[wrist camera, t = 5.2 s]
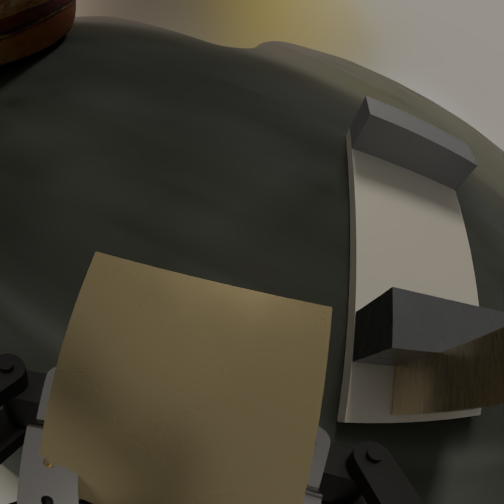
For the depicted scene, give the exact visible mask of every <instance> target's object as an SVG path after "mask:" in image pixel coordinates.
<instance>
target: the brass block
mask: <svg viewBox="0 0 504 504" xmlns="http://www.w3.org/2000/svg"><path fill="white" fill-rule="evenodd" d="M331 317H332V307H328V306H323V305H318V304H313V303H308V302H304V301H299V300H294V299H289V298H285V297H280V296H275V295H271V294H266V293H261V292H257V291H252V290H248V289H244V288H239V287H235V286H230V285H226V284H222V283H218V282H213V281H209V280H205V279H201V278H197V277H192V276H188V275H184V274H180V273H176V272H172V271H168V270H164V269H160V268H156V267H152V266H149V265H145V264H141V263H137V262H133V261H129V260H126V259H122V258H118V257H115V256H111V255H107V254H104V253H100V252H95V255H94V257H93V260H92V262H91V264H90V267H89V269H88V272H87V274H86V277H85V280H84V282H83V285H82V287H81V290H80V293H79V296H78V298H77V301H76V304H75V307H74V310H73V313H72V316H71V319H70V322H69V325H68V328H67V331H66V334H65V338H64V341H63V344H62V348H61V351H60V355H59V359H58V362H57V366H56V370H55V374H54V378H53V382H52V386H51V391H50V395H49V400H48V405H47V410H46V415H45V421H44V426H43V432H42V439H41V446H40V454H39V455H40V456H42V457H44V458H45V461H44V465H45V467H47V468H52V467H54V465H55V464H57V465H59V466H61V467H63V468H66V469H68V470H70V471H72V472H74V473H76V474H78V479H79V485H80V491H81V497H82V499H83V500H86V501H88V502H90V503H93V504H303V500H304V496H305V492H306V487H307V482H308V478H309V473H310V468H311V463H312V458H313V453H314V447H315V442H316V436H317V430H318V424H319V418H320V411H321V404H322V397H323V390H324V383H325V375H326V366H327V358H328V349H329V339H330V328H331Z"/></svg>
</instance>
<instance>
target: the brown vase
mask: <svg viewBox="0 0 504 504" xmlns="http://www.w3.org/2000/svg"><path fill="white" fill-rule="evenodd" d="M75 11H76V0H0V66H1V65H4V64H7V63H10V62H13V61H16V60H19V59H21V58H24V57H28V56H31V55H34V54H35V53H37V52H39V51H41V50H43V49H45V48H47V47H49V46H51V45H53V44H54V43H56V42H57V41H58V40H60V39H61V38H62V37H63V36H65V35H66V34H67V33H68V31H69V30H70V29H71V27H72V25H73V23H74V18H75Z"/></svg>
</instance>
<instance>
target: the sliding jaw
mask: <svg viewBox="0 0 504 504" xmlns="http://www.w3.org/2000/svg"><path fill="white" fill-rule="evenodd" d="M353 362H359V363H368V364H377V365H388V366H395V379H394V391H393V402H392V411H391V415H410V414H431V413H445V412H456V411H464V410H472V409H478V408H485V407H490V406H496V405H501V404H504V312H501V311H497V310H492V309H488V308H483V307H479V306H475V305H470V304H466V303H461V302H457V301H453V300H448V299H444V298H439V297H435V296H431V295H426V294H422V293H418V292H413V291H409V290H405V289H400V288H396V287H391V288H390V289H389V290H387V291H386V292H384V293H383V294H381V295H380V296H379V297H377V298H376V299H374V300H373V301H371V302H370V303H368V304H367V305H365V306H364V307H363V308H361V309H360V310H358V311H356V319H355V336H354V350H353Z"/></svg>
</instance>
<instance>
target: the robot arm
mask: <svg viewBox="0 0 504 504" xmlns="http://www.w3.org/2000/svg"><path fill="white" fill-rule="evenodd" d="M55 370H56V367H54V368H52V369H51V370H50V371H49V372H48V373H47V374H43V373H38V372H32V371H27V370H26V367H25V364H24V362H23V360H22V359H21V358H19V357H18V356H16V355H12V354H3V355H0V407H1V406H3V409H2V410H0V464H1V463H3V462H4V461H5V460H6V459H7V458H8V457H9V456H10V455H12V454H13V453H14V452H15V451H16V450H17V449H18V448H20V447H21V446H22V445H23V444H24V445H23V451H22V458H21V465H20V474H19V483H18V495H17V501H16V502H13V503H10V504H93V503H90V502H88V501H86V500H83V499H82V497H81V491H80V485H79V479H78V474H76V473H74V472H72V471H70V470H68V469H66V468H63V467H61V466H59V465H57V464H55V465H54V467H52V468H47V467H45V465H44V461H45V458H44V457H42V456H40V455H39V454H40V446H41V439H42V432H43V426H44V421H45V415H46V410H47V405H48V400H49V395H50V391H51V386H52V382H53V378H54V374H55ZM321 503H322V504H425V503H424V502H423V500H422V499H421V498H420V496H419V495H418V493H417V492H416V490H415V489H414V487H413V486H412V484H411V483H410V481H409V480H408V478H407V477H406V475H405V474H404V472H403V471H402V469H401V468H400V467H399V465H398V464H397V462H396V461H395V459H394V458H393V456H392V455H391V453H390V452H389V451H388V449H387V448H386V447H384V446H383V445H381V444H379V443H377V442H373V441H365V442H361V443H360V444H358V445H357V446H356V447H355V449H353V448H349V447H346V446H342V445H339V444H336V443H333V442H331V441H330V438H329V436H328V434H327V433H326V431H324V430H323V429H322V428H321V427H319V426H318V430H317V436H316V442H315V447H314V453H313V458H312V463H311V468H310V473H309V478H308V482H307V487H306V492H305V496H304V500H303V504H321Z"/></svg>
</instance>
